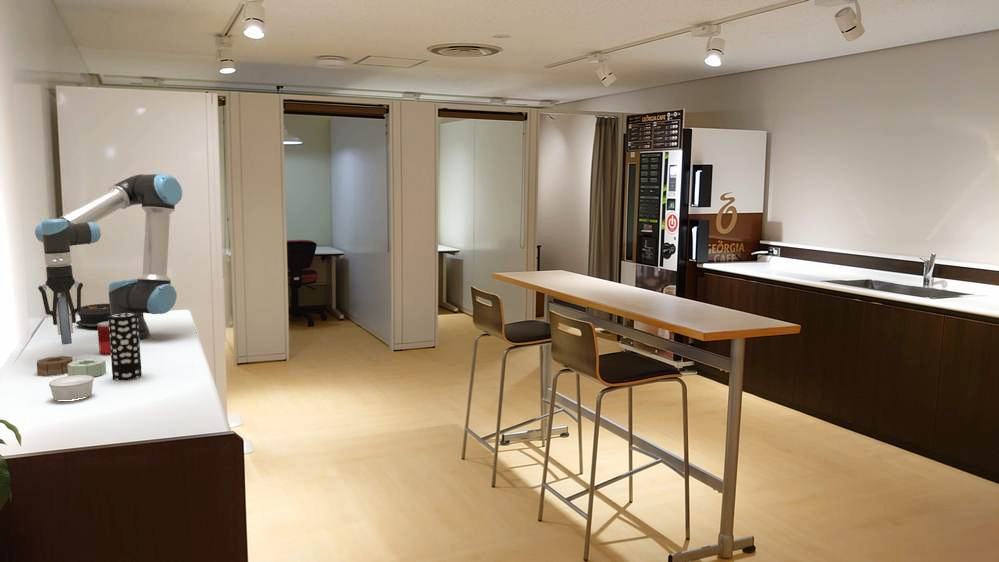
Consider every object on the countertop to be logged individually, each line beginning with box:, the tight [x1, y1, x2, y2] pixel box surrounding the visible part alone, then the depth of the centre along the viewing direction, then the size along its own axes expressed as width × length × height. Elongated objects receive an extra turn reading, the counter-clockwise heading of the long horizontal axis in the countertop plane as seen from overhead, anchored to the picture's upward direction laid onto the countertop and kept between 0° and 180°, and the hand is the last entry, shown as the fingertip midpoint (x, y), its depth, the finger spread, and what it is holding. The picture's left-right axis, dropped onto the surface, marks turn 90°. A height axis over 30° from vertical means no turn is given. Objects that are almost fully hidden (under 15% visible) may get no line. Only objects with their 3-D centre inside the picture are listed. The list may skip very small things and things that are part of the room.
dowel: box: [57, 296, 73, 345], centre depth 254 cm, size 3×3×16 cm
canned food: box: [97, 321, 111, 356], centre depth 271 cm, size 8×8×11 cm
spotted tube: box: [108, 313, 143, 381], centre depth 236 cm, size 8×8×20 cm
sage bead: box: [67, 358, 107, 378], centre depth 240 cm, size 10×10×4 cm
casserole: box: [75, 303, 111, 328], centre depth 323 cm, size 25×19×8 cm
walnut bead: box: [36, 355, 74, 376], centre depth 244 cm, size 10×10×4 cm
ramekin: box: [48, 375, 95, 401], centre depth 215 cm, size 11×11×5 cm
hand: (65, 333), depth 255 cm, fingers closed on dowel, 3 cm apart
